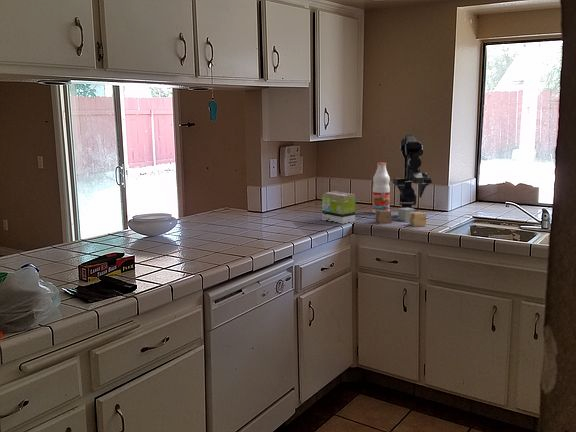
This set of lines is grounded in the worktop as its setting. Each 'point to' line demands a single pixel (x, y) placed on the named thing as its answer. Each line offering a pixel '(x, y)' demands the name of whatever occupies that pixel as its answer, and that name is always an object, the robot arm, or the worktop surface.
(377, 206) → the fruit juice
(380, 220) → the walnut block
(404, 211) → the grey block
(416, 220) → the oak block
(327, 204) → the tea box
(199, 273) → the worktop surface
